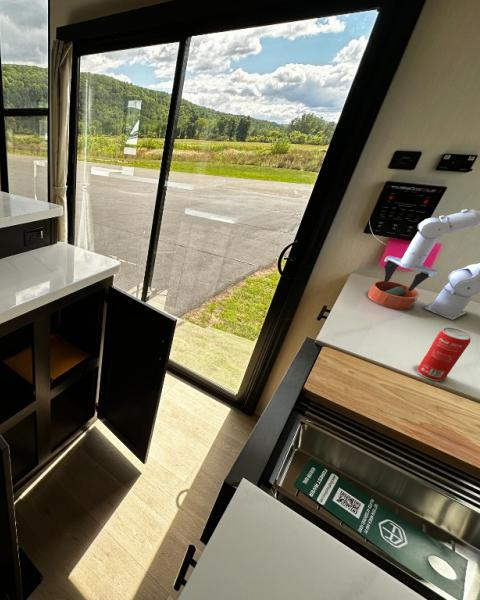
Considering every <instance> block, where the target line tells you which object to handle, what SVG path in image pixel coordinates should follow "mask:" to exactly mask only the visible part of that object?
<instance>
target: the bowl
mask: <svg viewBox="0 0 480 600" xmlns="http://www.w3.org/2000/svg"><path fill="white" fill-rule="evenodd" d="M395 287H402V288H404V289H405V291H406V294H405V295H404V296H402V297H399V296H395V295H391V294H388V293H386V292H385V291H387V290H390V289H392V288H395ZM409 287H410V285H407V284H404V283H400V282H397V281H392V280H389V281H387V282H385V281H384V279H383V280H377V281H374V282H373V283H372V285H371V287H370V289H369V290H368V293H367V297H368V298H369V300H371V301H372V302H373V303H376V304H378V305H380V306H383V307H386V308H390V309H395V310H409V309H412V307H413V306H414V304H415V303H416V301H417V300H418V299H419V297H420V293H419V291H417V290H416V288H414V289H413V290H412V291H408V289H409Z"/></svg>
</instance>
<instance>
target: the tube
mask: <svg viewBox="0 0 480 600" xmlns="http://www.w3.org/2000/svg"><path fill="white" fill-rule="evenodd" d="M385 292H386V293H388V294H391V295H395V296H399V297H402V296H404V295H405V294H406V291H405V289H404V288H402V287H395V288H392V289H390V290H387V291H385Z"/></svg>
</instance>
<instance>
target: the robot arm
mask: <svg viewBox="0 0 480 600" xmlns="http://www.w3.org/2000/svg"><path fill="white" fill-rule="evenodd" d="M460 211H461V212H457V213H452V214H448V215H444V214H443V215H439V216H438V217H429V218H425V219H424V220H422V221H420V223H418V224H417V230H418V231H417V232H416V234H415V236H414V237H413V238H412V240H411V242H410V244H409V246H407V249H406V251H405V253H404V254H403V256H402V258H400V257H395V256H392V255H388V256H386V257H385V258H384V260H383V262H385V263H384V265H383V266H384V279H383V281H385V282H387V281H391V279H392V277H393V276H394V275H393V274H394V273H395V271H396V270H397V268H398V267H401V268H404V269H407V270H411V271H413V272H414V271H415V272H417V273H416V274H415V275H414V279H413V281H412V283H411V284H410V285H409V289H408V291H412V290H413V289H416V287H418V285H419V284H421V283H423V281H425V280H427V279H428V278H434V277H435V276H436V275H437V274H438V272H439V271H438V270H436V269H433V268H431V267H428V266H426V265H425V264H424V263H425V261H426V260H427V258H428V257H429V255H430V253H431V251H432V250H433V248H434V247H435V245H436V243H437V241H438V240H439V238H441V237H443V236H445V235H446V234H450V233H455V232H458V231H459V232H460V231H463V230H468V229H472V228H477V227H479V226H480V210H476V209H467V208H465V209H461V210H460ZM447 280H448V283H447V284H445V285H444V287H442V289H441V291H440V292H439V294H438V295H437V297H436V298H435V300H434V301H433V302H432V304H430V305H428V306H425V307H424V310H426V311H429V312H431V313H434V314H436V315H439V316H441V317H444V318H446V319H448V320H452V321H453V320H455V319H457V318H460V317H461V316H463V315H465V314H467V311H465V308H466V307H467V306H468V305H469V303H470V302H471V301H472V299H473V298H474V296H475V295H478V294H479V293H480V262H478V263H475V264H474V263H473V264H468V265H467V266H465V267H463V268H459V269H456V270H453V271H451V272H450V273H449V274H448V277H447Z"/></svg>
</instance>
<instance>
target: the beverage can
mask: <svg viewBox="0 0 480 600" xmlns="http://www.w3.org/2000/svg"><path fill="white" fill-rule="evenodd" d="M471 338H472V336H471V335H470V333H468V332H466V331H465V330H462V329H458V328H455V327H454V328H453V327H445V328H444V329H442V330H440V331H439V332H438V334H437V335H436V337H435V339H434V340H433V341H432V343H431V345H430V347H429V348H428V350H427V351H426V353H425V355H424V357H423V358H422V360H421V361H420V363H419V364H418V366H417V368H416V370H417V372H418V374H419V375H421V376H422V377H424V378H426V379H428V380H432V381H438V382H439V381H440V382H441V381H444V380H445V379H446V378H447V377H448V375H449V373H450V372H452V369H453V368H454V366H455V365H456V363H457V362H458V361H459V359H460V358H461V356H462V355H463V353H464V352H465V351H466V349H467V348H468V346H469V345H470V343H471Z"/></svg>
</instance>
